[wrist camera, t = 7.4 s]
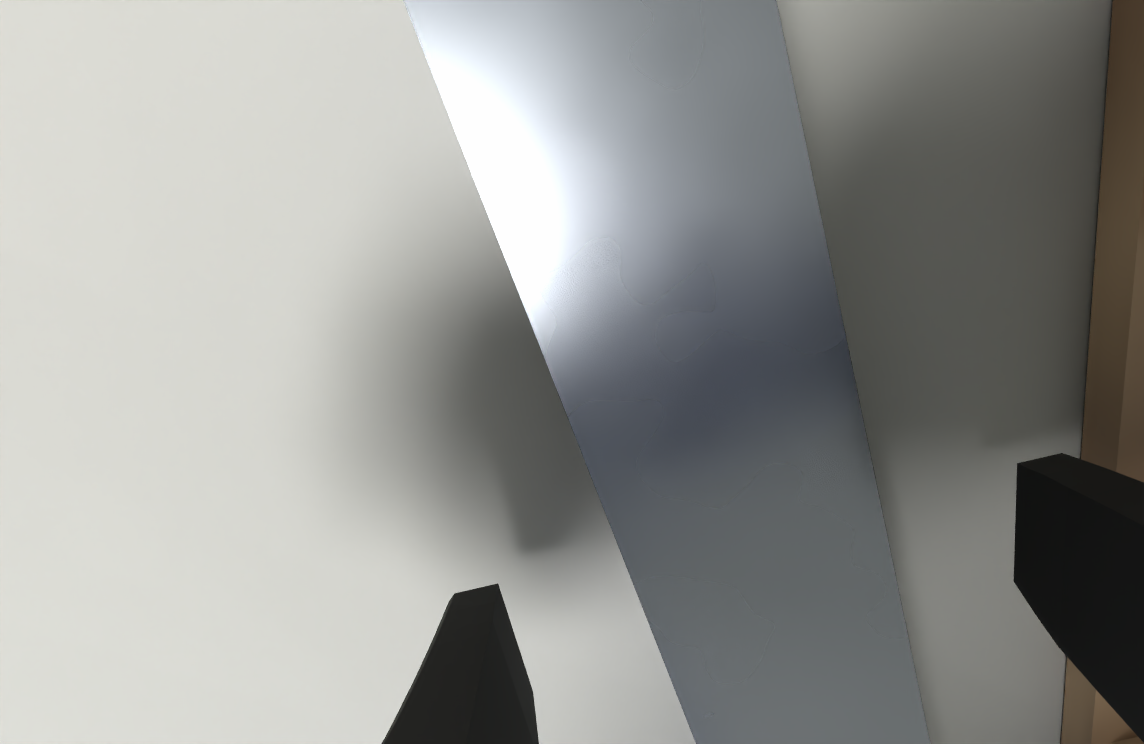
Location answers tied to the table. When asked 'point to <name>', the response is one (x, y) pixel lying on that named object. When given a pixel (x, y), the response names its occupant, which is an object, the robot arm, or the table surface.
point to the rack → (1115, 325)
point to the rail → (693, 343)
